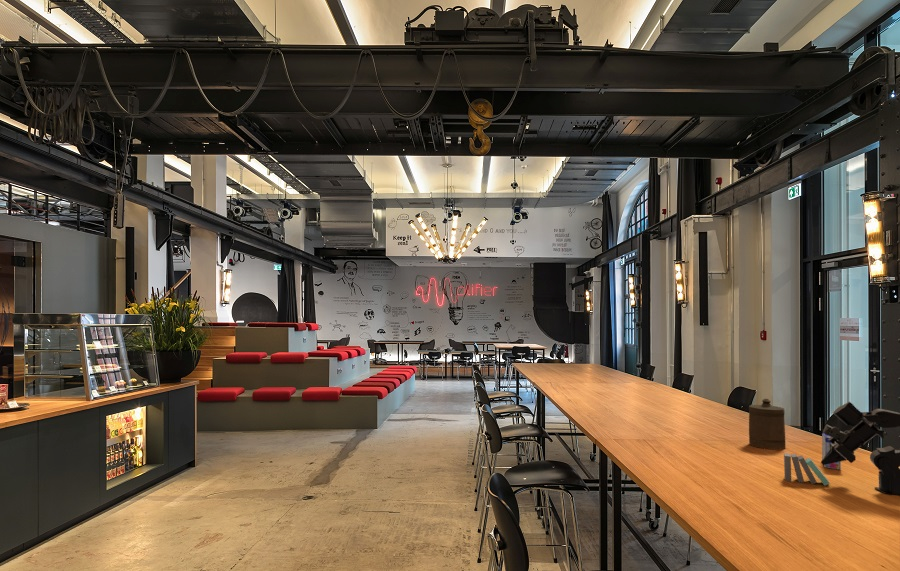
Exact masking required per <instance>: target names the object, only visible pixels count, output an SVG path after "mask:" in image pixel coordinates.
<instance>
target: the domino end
mask: <svg viewBox="0 0 900 571" xmlns="http://www.w3.org/2000/svg"><path fill="white" fill-rule="evenodd" d="M783 464H784V465H783V466H784V467H783V468H784V470H783V471H784V479H785V482H792V457H791V453H785V452H784V453H783Z"/></svg>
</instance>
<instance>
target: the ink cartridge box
mask: <svg viewBox="0 0 900 571" xmlns="http://www.w3.org/2000/svg"><path fill="white" fill-rule="evenodd" d="M821 435H822V436H821V439H822V440H821V442H822V443H821V461H822V460H823V458H824V457H825V456H826V454H827V453H828V451H829V450H830V448H829V443H830V444H831V445H832V443H831V442H830V441H829V440H828V439H829V438H830V437H831V436H827V435H825V434H824V433H821ZM841 462H842V461H840V462H835V463H831V464H826V465H823V466H824V468H826V469H833V470H839V471H841V468H842V467H841V465H842V464H841Z"/></svg>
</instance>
